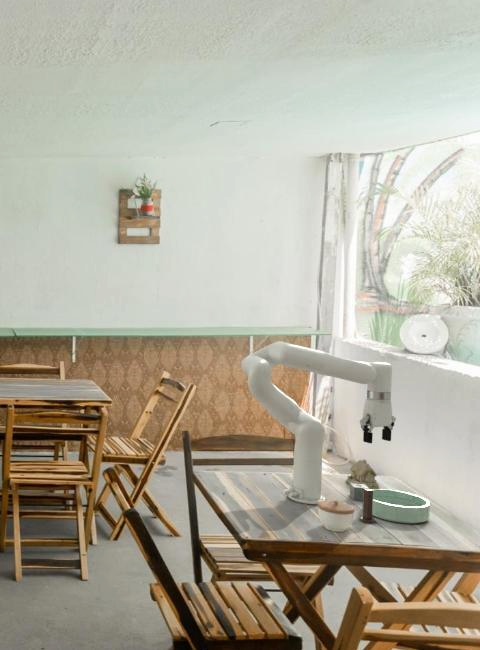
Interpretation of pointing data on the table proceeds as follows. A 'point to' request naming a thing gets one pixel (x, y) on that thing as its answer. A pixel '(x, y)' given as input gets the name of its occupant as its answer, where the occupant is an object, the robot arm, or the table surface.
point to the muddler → (367, 507)
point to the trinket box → (335, 515)
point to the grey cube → (357, 491)
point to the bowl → (399, 506)
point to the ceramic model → (363, 475)
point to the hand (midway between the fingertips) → (377, 441)
